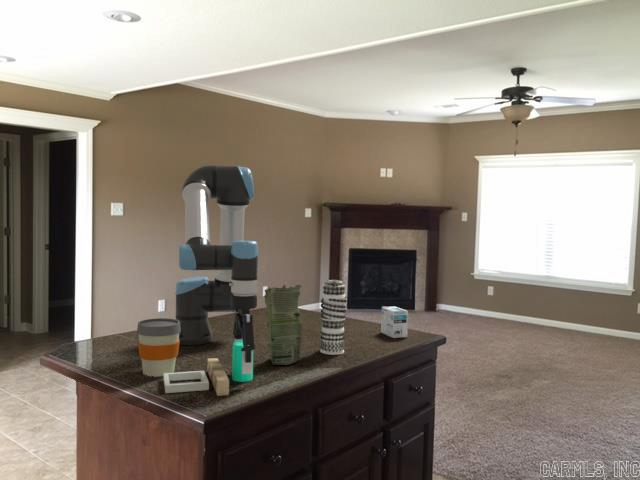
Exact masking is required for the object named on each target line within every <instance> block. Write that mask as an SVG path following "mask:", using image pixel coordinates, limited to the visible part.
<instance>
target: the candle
mask: <svg viewBox="0 0 640 480" xmlns="http://www.w3.org/2000/svg"><path fill="white" fill-rule="evenodd" d="M247 346H250V345H247ZM242 348H243V341H241V342H233V343H232V362H231V363H232V365H231V366H232V367H231V369H232V370H231V371H232V372H231V379H232V381H235V382H240V383H243V382H246V383H247V382H250V381H252V380H253V379H254V358H253V359H252V373H250V374H242V353H243V351H241V349H242Z"/></svg>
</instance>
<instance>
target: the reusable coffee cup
mask: <svg viewBox="0 0 640 480" xmlns="http://www.w3.org/2000/svg"><path fill="white" fill-rule="evenodd" d="M180 332H181V327H180V321H179V320H176V318H175V319H174V318H162V317H159V318H157V317H156V318H149V319H148V318H147V319H143V320H140V321H138V323H137V328H136V334H137V335H138V341H137V347H138V354H139V356H138V357H139V358H140V360H141V368H142V373H143V374H142V375H144V374H145V375H144V376H146V375H147V377H152V376H153V377H156V378H159V377H164V373H175V369H176V368H175V367H176V362H177V361H176V360H177V357H178V355H179V349H180V345H179V343H180V340H179V333H180Z"/></svg>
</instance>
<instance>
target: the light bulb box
mask: <svg viewBox="0 0 640 480" xmlns="http://www.w3.org/2000/svg"><path fill="white" fill-rule="evenodd" d="M380 321H381V322H380V323H381V326H380V327H381V328H380V333H382V334H384V335H386V336H387V337H389V338H393V339H398V338H408V334H409V333H408V327H409V324H408V323H409V310H407V309H403V308H400V307H398V306H395V305H393V306H381V320H380Z"/></svg>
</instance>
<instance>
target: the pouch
mask: <svg viewBox="0 0 640 480" xmlns="http://www.w3.org/2000/svg"><path fill="white" fill-rule="evenodd" d="M302 287H303V286H302V285H300V284H297V285H295V286H289V287H286V285H285V284H284V285H283V286H282V287H276V286H275V287H274V286H273V287H269V288H267V289H265V290H264V292H265V294H264V303H265V307H266V315H267V323H266V325H267V328H268V334H269V336H268V349H269V357H270V359H271V364H272V365H277V366H278V365H281V366H282V365H284V366H287V365H291V364H294V363H297V362H298V360H300V351H301V344H302V332H303V324H302V323H303V322H302V319H301V314H300V310H299V297H300V296H301V289H302Z"/></svg>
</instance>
